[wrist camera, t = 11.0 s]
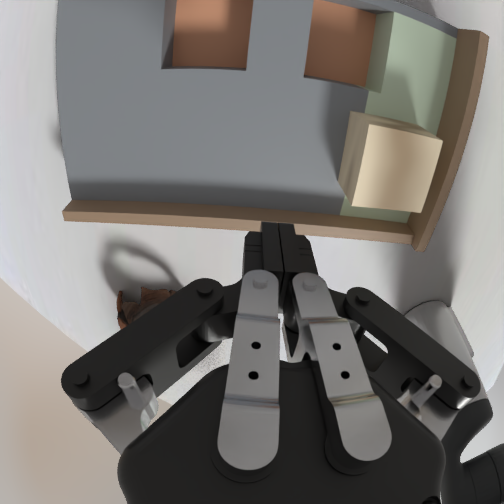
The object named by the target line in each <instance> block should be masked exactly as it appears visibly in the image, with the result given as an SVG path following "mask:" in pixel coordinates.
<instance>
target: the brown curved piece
mask: <svg viewBox="0 0 504 504" xmlns="http://www.w3.org/2000/svg"><path fill="white" fill-rule="evenodd" d="M141 289H142V292H141V303H140V304H138V303H136V302H124V303H123V302H122V291H119V294H118V298H117V311H118V316H117V317H118V318H117V319H118V324H119V326H120V329H123V328H124V327H126V326H127V325H129V324H130V323H132V322H133V321H135V320H136V319H138V318H139V317H141V316H142V315H144V314H145V313H146V312H148V311H149V310H151V309H152V308H154V307H155V306H157V305H158V304H160V303H161V302H163V301H164V300H166V299H167V298H169V297H170V296H172V295H173V294H175V293H176V292H175V291H174V290H170V291H169V292H168V290H167V289H160V290H150V289H147V288H145V287H141Z"/></svg>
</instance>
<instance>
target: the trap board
mask: <svg viewBox="0 0 504 504" xmlns="http://www.w3.org/2000/svg"><path fill="white" fill-rule="evenodd" d="M488 42H489V36H488V35H486V34H484V33H483V32H481V31H477V30H467V29H457V28H456V27H454V26H452V25H450V24H448V23H446V22H444V21H442V20H440V19H438V18H435V17H433V16H431V15H429V14H427V13H424V12H422V11H420V10H418V9H415V8H413V7H410V6H408V5H405V4H403V3H400V2H397V1H395V0H58V11H57V28H56V80H57V98H58V111H59V121H60V130H61V138H62V146H63V153H64V160H65V166H66V172H67V177H68V183H69V188H70V193H71V198H72V201H71V202H70V203H69V204H68V205H67V206H66V207H65V209H64V210H63V211H62V213H63V217H64V221H75V222H100V223H122V224H142V225H161V226H179V227H196V228H212V229H227V230H242V231H257V232H260V226H261V221H265V222H277V223H278V222H279V223H291V224H294V228H295V232H296V234H298V235H310V236H323V237H335V238H347V239H358V240H369V241H380V242H391V243H402V244H411V245H412V246H413V248H414V249H415V251H419V252H424V251H425V249H426V247H427V245H428V242H429V240H430V238H431V236H432V233H433V231H434V229H435V227H436V224H437V222H438V220H439V217H440V215H441V213H442V210H443V208H444V205H445V203H446V200H447V198H448V195H449V192H450V190H451V187H452V184H453V182H454V179H455V176H456V173H457V170H458V167H459V164H460V162H461V158H462V155H463V152H464V149H465V146H466V143H467V139H468V136H469V132H470V129H471V125H472V122H473V118H474V114H475V110H476V106H477V102H478V97H479V93H480V88H481V84H482V79H483V73H484V68H485V62H486V56H487V49H488ZM350 111H355V112H360V113H366V114H371V115H376V116H381V117H386V118H391V119H396V120H400V121H404V122H408V123H413V124H417V125H419V126H420V127H422V128H424V129H425V130H427V131H428V132H430V133H432V134H433V135H435V136H436V137H438V138H439V139H441V140H442V141H443V143H442V147H441V151H440V154H439V158H438V161H437V165H436V168H435V172H434V175H433V178H432V181H431V184H430V188H429V191H428V194H427V197H426V200H425V203H424V206H423V208H422V211H421V213H417V212H408V211H399V210H389V209H379V208H368V207H357V206H351V204H350V202H349V200H348V199H347V197H346V195H345V193H344V192H343V190H342V188H341V187H340V185H339V183H338V177H339V172H340V167H341V162H342V157H343V151H344V146H345V140H346V134H347V128H348V122H349V116H350Z"/></svg>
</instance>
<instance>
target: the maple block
mask: <svg viewBox="0 0 504 504" xmlns="http://www.w3.org/2000/svg"><path fill="white" fill-rule="evenodd" d="M442 143H443V141H442V140H441V139H439V138H438V137H436V136H435V135H433V134H432V133H430V132H428V131H427V130H425V129H424V128H422V127H420V126H419V125H417V124H413V123H408V122H404V121H400V120H396V119H391V118H386V117H381V116H376V115H371V114H366V113H360V112H355V111H350V116H349V122H348V128H347V134H346V140H345V146H344V151H343V157H342V162H341V167H340V172H339V177H338V183H339V185H340V187H341V188H342V190H343V192H344V193H345V195H346V197H347V199H348V200H349V202H350V204H351V206H357V207H368V208H379V209H389V210H399V211H408V212H417V213H421V211H422V208H423V206H424V203H425V200H426V197H427V194H428V191H429V188H430V184H431V181H432V178H433V175H434V172H435V168H436V165H437V161H438V158H439V154H440V151H441V147H442Z"/></svg>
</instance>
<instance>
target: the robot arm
mask: <svg viewBox="0 0 504 504" xmlns="http://www.w3.org/2000/svg"><path fill="white" fill-rule="evenodd" d="M278 313H283V316H284V320H283V324H282V332H283V338H284V343H285V349H286V354H287V360H288V362H286V361H282V360H279V359H280V319H278ZM366 330H367V331H368V332H369V333H370V334H372V335H373V336H374V337H375V338H376V339H378V340H379V341H380V342H381V343H383V344H384V345H385V346H386V348H387V350H388V353H386V352H384V351H383V350H382V349H381V348H380V347H378V346H377V345H376V344H375V343H374V342H372V341H371V340H370V339H369V338H367V337H366V336H365V335H364V333H365V331H366ZM229 338H233V342H232V348H231V355H230V362H229V364H227V365H223V366H221V367H218V368H216V369H214V370H212V371H211V372H209V373H208V374H206V375H205V376H204V377H203V378H202V379H201V380H200V381H199V382H197V383H196V384H195V385H194V386H193V387H192V388H191V389H190V390H189V391H188V392H187V393H186V394H185V395H184V396H182V397H181V398H180V399H179V400H178V401H177V402H176V403H175V404H174V405H173V406H172V407H170V408H169V409H168V410H167V411H166V412H165V413H164V414H163V415H162V416H161V417H159V419H157V420H156V421H155V422H154V423H153V424H152V425H150V426H149V427H148V425H149V423H150V421H151V420H152V419H153V418H154V417H155V415H156V414H157V411H158V401H157V397H158V396H159V395H161V394H162V393H163V392H164V391H165V390H167V389H168V388H169V387H170V386H172V385H173V384H174V383H175V382H176V381H178V380H179V379H180V378H181V377H182V376H184V375H185V374H186V373H187V372H188V371H190V370H191V369H192V368H193V367H194V366H195V365H197V364H198V363H199V362H200V361H201V360H203V359H204V358H205V357H206V356H207V355H208V354H210V353H211V352H212V351H213V350H214V349H215V348H217V347H218V346H219V345H220V344H221V342H222V340H224V339H229ZM473 356H474V352H473V350H472V348H471V345H470V343H469V341H468V339H467V337H466V335H465V333H464V331H463V329H462V327H461V325H460V323H459V321H458V319H457V317H456V315H455V313H454V311H453V310H452V308H451V307H447V306H446V305H445V303H443V302H441V301H430V302H426V303H423V304H421V305H419V306H417V307H415V308H414V309H412V310H411V311H409V312H408V313H407V314H406V315H405V316H403V315H402V314H401V313H399V312H398V311H397V310H395V309H394V308H393V307H391V306H390V305H389V304H387V303H386V302H385V301H383V300H382V299H381V298H379V297H378V296H377V295H375V294H374V293H373V292H371V291H370V290H368V289H365V288H362V287H354V288H351V289H350V290H348V292H347V294H344V293H340V292H337V291H334V290H331V289H329V288H328V287H327V284H326V282H325V281H324V280H323V279H322V278H321V277H320V276H318V272H317V268H316V264H315V260H314V256H313V252H312V248H311V244H310V241H309V240H308V239H307V238H306V237H305V236H304V235H298V234H296V232H295V228H294V224H291V223H279V222H278V223H277V222H265V221H261V226H260V232H257V231H249V232H248V234H247V235H246V236H245V242H244V253H243V268H242V279H241V280H240V281H238V282H237V283H235V284H233V285H229V286H224V287H223V286H222V285H221V284H220V283H219V282H218V281H216V280H213V279H209V278H202V279H197V280H194V281H193V282H191V283H190V284H188V285H187V286H185V287H184V288H182V289H181V290H179V291H178V292H176V293H175V294H173V295H172V296H170V297H169V298H167V299H166V300H164V301H163V302H161V303H160V304H158V305H157V306H155V307H154V308H152V309H151V310H149V311H148V312H146V313H145V314H144V315H142V316H141V317H139V318H138V319H136V320H135V321H133V322H132V323H130V324H129V325H127V326H126V327H124V328H123V329H121V330H120V331H118V332H117V333H116V334H114V335H113V336H111V337H110V338H108V339H107V340H105V341H104V342H102V343H101V344H99V345H98V346H96V347H95V348H93V349H92V350H91V351H89V352H88V353H86V354H85V355H83V356H82V357H80V358H79V359H78V360H76V361H75V362H73V363H72V364H70V365H69V366H68V367H67V368H66V369H65V370H64V372H63V374H62V378H61V383H62V388H63V390H64V391H65V392H66V394H67V395H68V396H69V397H70V399H71V400H72V402H73V404H74V405H75V406H76V407H77V409H78V410H79V411H80V412H81V413H82V414H83V415H84V416H85V418H87V419H88V420H89V421H90V422H91V423H92V424H93V425H94V426H95V427H96V428H98V429H99V430H100V431H101V432H102V433H103V435H104V436H105V437H106V438H107V439H108V441H109V442H110V443H111V444H112V445H113V446H114V447H115V448H116V450H117V451H118V452H119V453H120V454H121V457H120V459H119V463H118V472H117V473H118V481H119V484H120V487H121V489H122V491H123V494H124V496H125V498H126V501H127V504H441V501H440V490H441V499H442V504H504V444H500V445H498V446H496V447H494V448H492V449H490V450H488V451H486V452H485V453H483V454H481V455H479V456H477V457H475V458H473V459H471V460H469V461H466V462H464V463H461V462H460V456H461V453H462V452H463V450H464V449H465V447H466V446H467V444H468V443H469V442H470V441H471V440H472V439H473V437H474V436H475V435H476V434H478V433H479V432H480V431H481V430H482V429H483V428H484V427H485V426H486V425H487V424H488V423H489V422H490V420H491V418H492V416H493V412H492V407H491V405H490V402H489V400H488V397H487V394H486V392H485V389H484V386H483V384H482V381H481V379H480V377H479V374H478V372H477V369H476V367H475V365H474V362H473V360H472V357H473Z"/></svg>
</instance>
